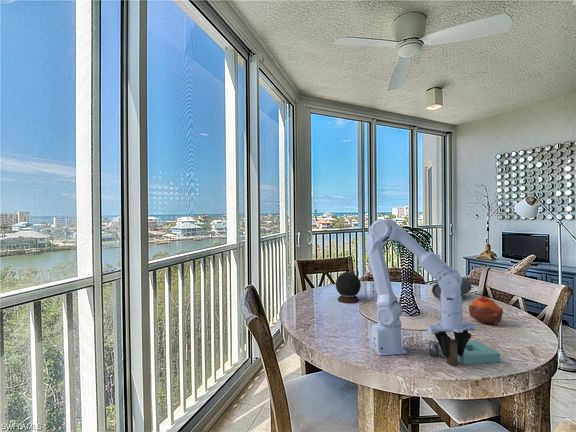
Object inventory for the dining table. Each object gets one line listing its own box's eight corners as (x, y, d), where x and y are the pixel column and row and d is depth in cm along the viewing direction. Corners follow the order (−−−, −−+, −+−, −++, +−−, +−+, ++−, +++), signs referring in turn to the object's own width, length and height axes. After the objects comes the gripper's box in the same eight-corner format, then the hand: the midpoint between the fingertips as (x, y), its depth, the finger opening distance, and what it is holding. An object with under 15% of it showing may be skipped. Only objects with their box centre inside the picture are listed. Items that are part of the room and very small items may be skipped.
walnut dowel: (450, 366, 90) (450, 343, 90) (444, 361, 93) (444, 339, 93) (460, 365, 90) (459, 342, 90) (453, 361, 93) (453, 338, 93)
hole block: (463, 364, 91) (463, 356, 91) (443, 349, 101) (442, 342, 101) (500, 361, 92) (499, 353, 92) (476, 347, 102) (476, 340, 102)
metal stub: (432, 357, 96) (432, 345, 96) (427, 353, 99) (427, 341, 99) (441, 357, 96) (441, 344, 96) (435, 352, 99) (435, 340, 99)
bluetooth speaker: (455, 293, 171) (455, 275, 171) (472, 296, 163) (472, 278, 163) (430, 299, 160) (430, 280, 160) (447, 303, 152) (447, 283, 152)
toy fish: (466, 323, 125) (465, 295, 125) (472, 316, 132) (471, 290, 132) (501, 330, 116) (500, 300, 116) (505, 322, 124) (505, 295, 124)
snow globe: (363, 303, 155) (363, 274, 155) (337, 304, 155) (337, 275, 155) (358, 296, 168) (357, 269, 168) (334, 297, 168) (333, 270, 168)
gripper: (436, 316, 87) (437, 363, 87) (483, 313, 89) (484, 359, 89) (423, 309, 94) (424, 352, 94) (466, 306, 96) (467, 349, 96)
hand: (452, 355), depth 92 cm, fingers open, 4 cm apart
